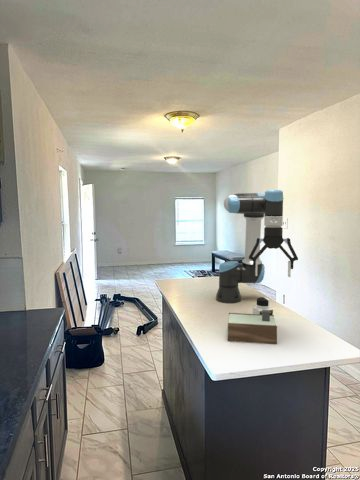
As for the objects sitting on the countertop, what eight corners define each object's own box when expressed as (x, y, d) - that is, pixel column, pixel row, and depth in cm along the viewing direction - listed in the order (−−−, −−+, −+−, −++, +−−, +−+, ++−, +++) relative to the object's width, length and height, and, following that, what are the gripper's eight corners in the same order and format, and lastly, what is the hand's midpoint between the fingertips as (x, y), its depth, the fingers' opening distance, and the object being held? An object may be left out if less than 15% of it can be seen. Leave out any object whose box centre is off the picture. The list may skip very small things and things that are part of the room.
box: (228, 328, 150) (229, 312, 149) (273, 331, 146) (273, 315, 145) (227, 340, 136) (227, 323, 135) (276, 344, 132) (277, 326, 132)
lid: (229, 315, 148) (229, 305, 147) (273, 318, 144) (273, 307, 144) (228, 324, 137) (228, 313, 136) (276, 327, 133) (276, 316, 133)
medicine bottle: (259, 325, 154) (260, 300, 153) (252, 320, 161) (252, 296, 160) (272, 323, 156) (273, 299, 155) (265, 318, 163) (265, 295, 162)
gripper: (243, 227, 136) (242, 276, 137) (305, 227, 130) (304, 278, 132) (243, 226, 143) (243, 273, 145) (302, 226, 138) (301, 275, 139)
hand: (272, 276), depth 138 cm, fingers open, 13 cm apart
